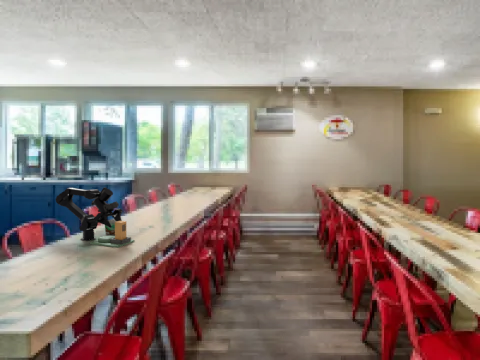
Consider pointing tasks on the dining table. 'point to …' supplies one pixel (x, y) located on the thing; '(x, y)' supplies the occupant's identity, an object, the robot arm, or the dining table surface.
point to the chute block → (120, 230)
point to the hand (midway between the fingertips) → (116, 225)
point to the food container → (110, 230)
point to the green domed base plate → (112, 241)
